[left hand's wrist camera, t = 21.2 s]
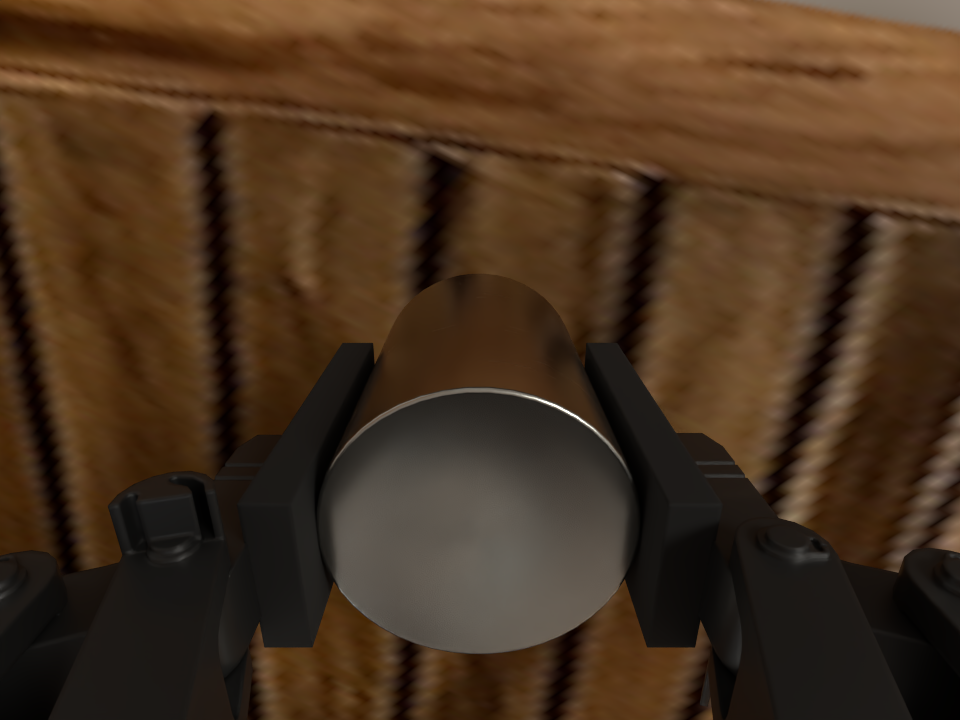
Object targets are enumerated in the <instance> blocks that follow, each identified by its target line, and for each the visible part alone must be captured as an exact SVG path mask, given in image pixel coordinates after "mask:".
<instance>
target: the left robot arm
mask: <svg viewBox="0 0 960 720" xmlns="http://www.w3.org/2000/svg"><path fill="white" fill-rule="evenodd" d="M374 366H375V363H374V349H373V343H342V345H341V346H340V348H339V349H338V351H337V352H336V354H335V355H334V357H333V359H332V360H331V362H330V363H329V365H328V366H327V368H326V369H325V371H324V372H323V374H322V375H321V377H320V378H319V380H318V381H317V383H316V384H315V386H314V387H313V389H312V390H311V392H310V394H309V395H308V397H307V398H306V400H305V401H304V403H303V404H302V406H301V407H300V409H299V410H298V412H297V413H296V415H295V416H294V418H293V419H292V421H291V422H290V424H289V426H288V427H287V429H286V430H285V432H284V433H283V435H257V436H255V437H254V438H252V439H251V440H249V441H248V442H246V443H244V444H243V445H241V446H240V447H238V448H237V449H236V450H235V452H234V453H233V454H232V456H231V457H230V458H229V459H228V461H227V462H226V463H225V467H222V468H221V470H220V471H219V472H218V474H217V475H216V476H215V480H212V479H211V478H210V477H208V476H207V475H206V474H202V473H197V472H193V471H184V472H171V473H166V474H162V475H157V476H153V477H151V478H148V479H146V480H143V481H141V482H138V483H136V484H134V485H132V486H130V487H129V488H127V489H126V490H124V491H123V492H121V493H120V494H118V495H117V496H116V497H115V498H114V500H113V501H112V502H111V503H110V504H109V505H108V508H109V511H110V515H111V518H112V521H113V525H114V528H115V531H116V535H117V538H118V541H119V545H120V548H121V552H122V555H123V556H122V558H121V560H120V562H119V563H115V564H112V565H108V566H103V567H99V568H94V569H89V570H85V571H80V572H75V573H71V574H66V575H61V572H60V569H59V567H58V564H57V561H56V559H55V558H54V557H52V556H51V555H50V554H49V553H47V552H40V551H32V550H31V551H23V552H16V553H10V554H6V555H2V556H0V720H247V715H248V706H249V697H250V689H251V680H252V671H253V669H252V662H251V656H250V651H249V644H250V641H251V639H252V637H253V635H254V632H255V630H256V628H257V626H258V624H259V621H260V627H261V632H262V637H263V642H264V647H313V644H314V641H315V638H316V634H317V631H318V628H319V625H320V622H321V619H322V616H323V613H324V610H325V607H326V604H327V601H328V598H329V595H330V592H331V588H332V585H333V582H334V581H333V579H332V578H331V576H330V574H329V572H328V569H327V567H326V565H325V563H324V561H323V557H322V554H321V551H320V547H319V544H318V536H317V529H316V507H317V501H318V496H319V491H320V488H321V485H322V482H323V479H324V477H325V474H326V471H327V469H328V467H329V465H330V463H331V460H332V458H333V456H334V454H335V452H336V449H337V447H338V445H339V443H340V441H341V438H342V436H343V434H344V432H345V430H346V427H347V425H348V423H349V421H350V419H351V416H352V414H353V412H354V410H355V408H356V405H357V403H358V401H359V399H360V397H361V394H362V392H363V390H364V388H365V386H366V383H367V381H368V379H369V377H370V375H371V372H372V370H373V368H374ZM585 371H586V373H587V376H588V378H589V380H590V382H591V384H592V387H593V389H594V391H595V393H596V396H597V398H598V400H599V402H600V404H601V407H602V409H603V411H604V413H605V416H606V418H607V420H608V422H609V424H610V427H611V429H612V431H613V433H614V436H615V438H616V440H617V442H618V444H619V447H620V449H621V451H622V453H623V456H624V458H625V460H626V462H627V464H628V467H629V469H630V471H631V474H632V476H633V479H634V482H635V484H636V487H637V490H638V495H639V500H640V505H641V531H640V539H639V544H638V548H637V551H636V555H635V558H634V561H633V563H632V565H631V568H630V570H629V572H628V574H627V576H626V578H625V581H626V584H627V587H628V590H629V593H630V596H631V599H632V602H633V605H634V608H635V611H636V614H637V617H638V621H639V624H640V627H641V630H642V633H643V636H644V639H645V642H646V645H647V647H695V645H696V640H697V635H698V629H699V624H700V620H701V622H702V624H703V626H704V628H705V631H706V633H707V635H708V637H709V639H710V642H711V644H712V646H711V651H710V656H709V660H708V665H707V670H706V675H705V680H704V684H703V689H702V695H701V701H700V705H703V706H707V707H708V703H709V698H710V696H711V705H712V713H713V720H960V553H957V552H953V551H949V550H942V549H934V548H924V549H916V550H912V551H911V552H910V553H909V554H907V555H906V556H905V557H904V559H903V562H902V565H901V568H900V570H899V573H897V572H892V571H887V570H882V569H878V568H873V567H868V566H863V565H859V564H854V563H850V562H846V561H843V560H840V559H839V557H838V555H837V553H836V552H835V551H834V549H833V548H832V546H831V545H830V544H829V542H827V541H826V540H825V539H823V538H822V537H821V536H819V535H818V534H817V533H815V532H814V531H812V530H810V529H808V528H806V527H804V526H801V525H799V524H797V523H795V522H791V521H787V520H784V519H780V518H778V517H777V515H776V514H775V513H774V512H773V510H772V509H771V508H770V506H769V505H768V504H767V503H766V501H765V500H764V499H763V497H762V496H761V495H760V494H759V492H758V491H757V490H756V488H755V487H754V486H753V485H752V483H751V482H750V481H749V479H748V478H745V474H744V473H743V472H742V470H741V469H740V468H739V467H738V465H735V461H734V460H733V459H732V458H731V456H730V455H729V454H728V452H727V451H726V450H725V449H724V447H723V446H721V445H720V444H718V443H717V442H715V441H714V440H712V439H711V438H709V437H707V436H706V435H704V434H703V433H676V432H675V431H674V429H673V428H672V426H671V425H670V423H669V422H668V420H667V419H666V417H665V416H664V414H663V413H662V411H661V410H660V408H659V406H658V405H657V403H656V402H655V400H654V399H653V397H652V396H651V394H650V393H649V391H648V390H647V388H646V387H645V385H644V384H643V382H642V381H641V379H640V378H639V376H638V375H637V373H636V371H635V370H634V368H633V367H632V365H631V364H630V362H629V361H628V359H627V358H626V356H625V355H624V353H623V352H622V350H621V349H620V347H619V346H618V344H617V343H586V356H585Z"/></svg>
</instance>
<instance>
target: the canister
mask: <svg viewBox="0 0 960 720" xmlns="http://www.w3.org/2000/svg"><path fill="white" fill-rule="evenodd" d="M316 529H317V536H318V544H319V547H320V551H321V554H322V557H323V561H324V563H325V565H326V567H327V569H328V572H329V574H330V576H331V578H332V579H333V581H334V582H335V584H336V585H337V587H338V588H339V590H340V591H341V592H342V594H343V595H344V596H345V597H346V598H347V599H348V600H349V602H350V603H351V604H352V605H353V606H354V607H355V608H356V609H358V610H359V611H360V612H361V613H362V614H363V615H364V616H365V617H367V618H368V619H370V620H371V621H372V622H374V623H375V624H377V625H378V626H380V627H381V628H383V629H385V630H387V631H389V632H390V633H392V634H394V635H396V636H398V637H400V638H403V639H405V640H408V641H410V642H413V643H415V644H419V645H422V646H425V647H429V648H432V649H437V650H443V651H448V652H456V653H466V654H491V653H501V652H510V651H515V650H520V649H525V648H528V647H532V646H535V645H538V644H542V643H545V642H547V641H549V640H552V639H554V638H557V637H559V636H561V635H563V634H565V633H567V632H569V631H570V630H572V629H574V628H576V627H578V626H579V625H580V624H582V623H583V622H585V621H586V620H588V619H589V618H590V617H592V616H593V615H594V614H595V613H596V612H597V611H599V610H600V609H601V608H602V607H603V606H604V605H605V604H606V603H607V602H608V601H609V600H610V598H611V597H612V596H613V595H614V594H615V593H616V591H617V590H618V589H619V587H620V585H621V584H622V582H623V581H624V579H625V578H626V576H627V574H628V572H629V570H630V568H631V565H632V563H633V561H634V558H635V555H636V551H637V548H638V544H639V539H640V531H641V505H640V500H639V495H638V490H637V487H636V484H635V482H634V479H633V476H632V474H631V471H630V469H629V467H628V464H627V462H626V460H625V458H624V456H623V453H622V451H621V449H620V447H619V444H618V442H617V440H616V438H615V436H614V433H613V431H612V429H611V427H610V424H609V422H608V420H607V418H606V416H605V413H604V411H603V409H602V407H601V404H600V402H599V400H598V398H597V396H596V393H595V391H594V389H593V387H592V384H591V382H590V380H589V378H588V376H587V373H586V371H585V369H584V367H583V364H582V362H581V360H580V358H579V356H578V353H577V351H576V349H575V347H574V344H573V342H572V340H571V338H570V336H569V333H568V331H567V329H566V327H565V325H564V323H563V321H562V319H561V318H560V316H559V315H558V313H557V312H556V311H555V309H554V308H553V307H552V305H551V304H550V303H549V302H548V301H547V300H546V299H545V298H544V297H542V296H541V295H540V294H538V293H537V292H536V291H534V290H533V289H531V288H529V287H528V286H526V285H524V284H522V283H520V282H517V281H515V280H512V279H510V278H506V277H502V276H498V275H490V274H468V275H460V276H456V277H452V278H448V279H445V280H443V281H440V282H438V283H436V284H434V285H432V286H430V287H428V288H427V289H425V290H423V291H422V292H421V293H419V294H418V295H417V296H416V297H414V298H413V299H412V300H411V301H410V302H409V303H408V304H407V305H406V306H405V308H404V309H403V310H402V312H401V313H400V314H399V316H398V317H397V319H396V321H395V323H394V325H393V326H392V328H391V331H390V333H389V335H388V337H387V339H386V342H385V344H384V346H383V348H382V350H381V353H380V355H379V357H378V359H377V361H376V364H375V366H374V368H373V370H372V372H371V375H370V377H369V379H368V381H367V383H366V386H365V388H364V390H363V392H362V394H361V397H360V399H359V401H358V403H357V405H356V408H355V410H354V412H353V414H352V416H351V419H350V421H349V423H348V425H347V427H346V430H345V432H344V434H343V436H342V438H341V441H340V443H339V445H338V447H337V449H336V452H335V454H334V456H333V458H332V460H331V463H330V465H329V467H328V469H327V471H326V474H325V477H324V479H323V482H322V485H321V488H320V491H319V496H318V501H317V507H316Z"/></svg>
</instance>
